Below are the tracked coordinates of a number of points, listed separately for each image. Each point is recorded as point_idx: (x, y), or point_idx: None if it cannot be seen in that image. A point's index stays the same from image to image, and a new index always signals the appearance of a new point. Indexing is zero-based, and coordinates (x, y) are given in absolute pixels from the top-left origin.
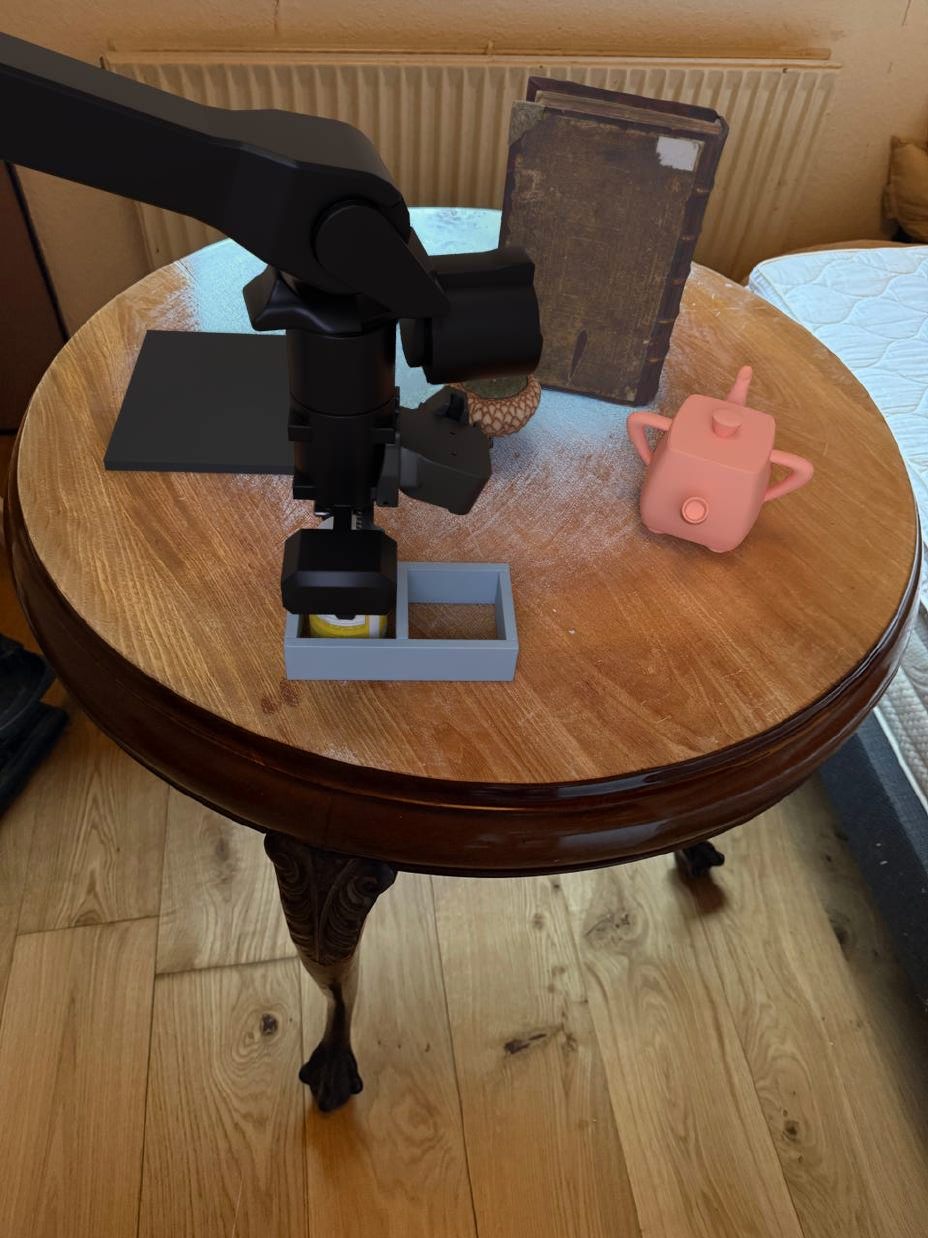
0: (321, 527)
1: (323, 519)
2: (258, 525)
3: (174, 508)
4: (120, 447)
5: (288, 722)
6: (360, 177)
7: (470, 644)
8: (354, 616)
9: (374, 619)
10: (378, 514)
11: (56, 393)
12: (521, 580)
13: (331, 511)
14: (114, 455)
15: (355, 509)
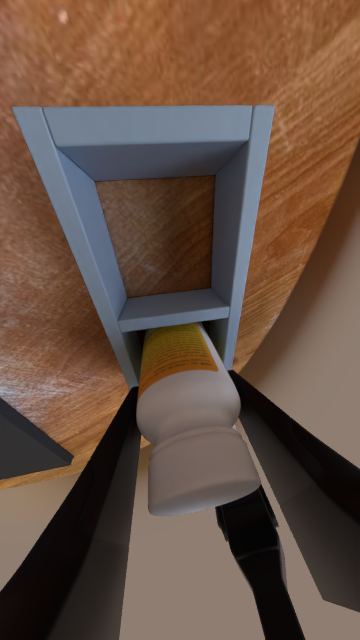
0: (191, 511)
1: (136, 475)
2: (80, 401)
3: (87, 432)
4: (54, 465)
5: (245, 351)
6: None
7: (250, 221)
8: (238, 374)
9: (210, 343)
10: (6, 338)
11: (26, 482)
12: (12, 112)
13: (129, 494)
14: (63, 464)
15: (116, 493)
